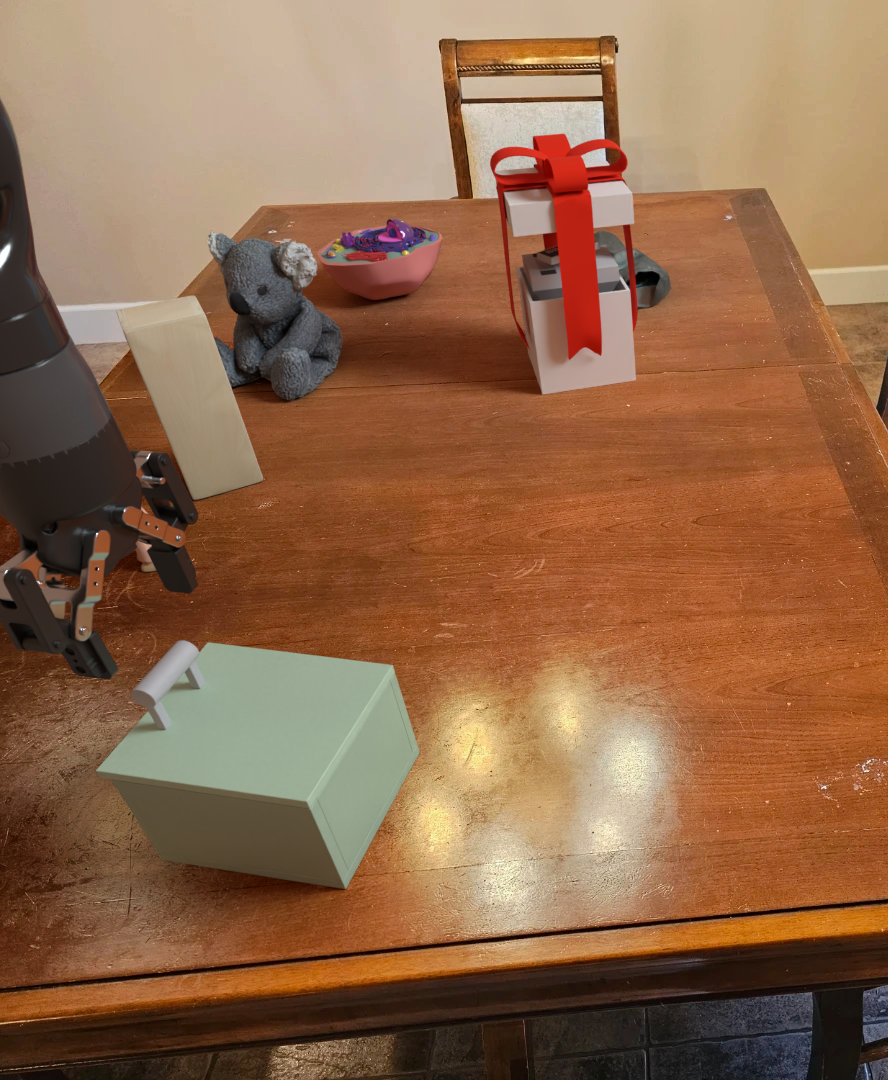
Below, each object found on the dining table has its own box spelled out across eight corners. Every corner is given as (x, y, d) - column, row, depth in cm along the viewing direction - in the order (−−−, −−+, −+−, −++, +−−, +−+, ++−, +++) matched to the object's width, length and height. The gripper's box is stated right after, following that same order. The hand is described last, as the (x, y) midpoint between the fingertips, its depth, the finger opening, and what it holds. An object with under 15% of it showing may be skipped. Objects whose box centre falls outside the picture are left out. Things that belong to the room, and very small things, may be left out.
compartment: (161, 860, 69) (110, 780, 63) (257, 729, 79) (220, 650, 73) (345, 889, 67) (310, 809, 61) (420, 752, 77) (395, 672, 71)
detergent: (682, 305, 149) (636, 250, 168) (677, 263, 145) (631, 211, 163) (604, 324, 146) (566, 266, 164) (597, 282, 142) (558, 227, 160)
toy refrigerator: (253, 453, 114) (193, 291, 102) (266, 480, 110) (205, 314, 97) (183, 473, 111) (112, 307, 98) (193, 502, 106) (120, 332, 93)
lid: (99, 778, 63) (68, 729, 60) (211, 649, 73) (188, 601, 70) (310, 809, 61) (288, 760, 58) (395, 671, 71) (380, 624, 68)
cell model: (311, 293, 154) (292, 225, 148) (420, 263, 165) (407, 199, 158) (356, 324, 144) (337, 253, 138) (469, 290, 155) (457, 223, 148)
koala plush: (195, 390, 128) (140, 250, 116) (277, 336, 141) (236, 206, 129) (303, 406, 124) (259, 264, 112) (377, 349, 138) (344, 217, 126)
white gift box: (625, 334, 141) (610, 124, 123) (653, 384, 128) (640, 158, 110) (513, 350, 137) (480, 135, 119) (530, 403, 124) (496, 172, 106)
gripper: (66, 364, 59) (161, 560, 69) (-130, 486, 48) (17, 700, 58) (172, 371, 58) (253, 570, 68) (-3, 499, 47) (124, 714, 57)
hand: (144, 630), depth 63 cm, fingers open, 8 cm apart
